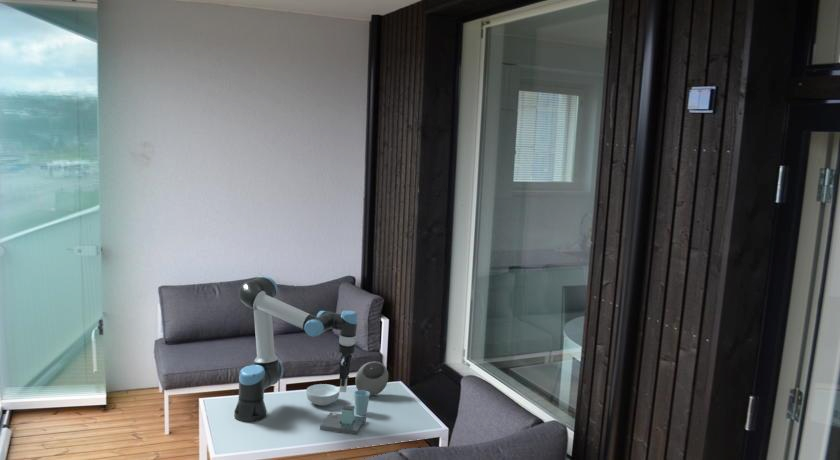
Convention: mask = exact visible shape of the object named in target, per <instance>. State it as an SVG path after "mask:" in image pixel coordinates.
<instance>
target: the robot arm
mask: <svg viewBox="0 0 840 460" xmlns="http://www.w3.org/2000/svg"><path fill="white" fill-rule="evenodd" d="M277 294H278V285H277V283H276V281H275V280H274V279H272V278H271V277H269V276H260V277H257V278H253V279H252V280H251V279H250V280H247V281H245V282H244V283H242V285H240V287H239V289H238V298H239V300H240V302H241V303H242V304H244V305H245V306H246V307H248V308H250V309H252V310H253V319H254V321H253V322H254V332H255V346H256V357H255V359H254V360H253V363H254V364H250V365H246V366H244V367H242V368H241V369H240V371H239V375H238V401H237V403H236V405H235V406H236V407H235V409H234V414H233V415H234V416H233V417H234V419H236V420H237V421H240V422H245V423H246V422H249V423H252V422H253V423H254V422H258V421H259V422H260V421H262V420H264V419H265V418H266V417H267V413H268V411H267V406H266V404H265V401H264V397H265V390H267V389H268V388H269V387H271V386H273V385H275V384H277V383H278V382H279V381H280V380H281V379H282V377H283V375H284V366H283V364H282V363H281V361H279V357H278V356H277V355H275V354H276V352H275V341H274V340H275V339H274V338H275V337H274V325H273V316H274V317H275V318H277V319H280V320H282V321H285V322H287V323H289V324H290V325H293V326H295V327H297V328H300V329H302V330H303V331H304V332H305V333H306V334H307V336H309V337H318V336H320V335H321V334H323V333H324V332H325V333H326V331H329V330H331V329H332V330H337V331H339V341H338V342H339V344H338V352H339V353H340V354H341V356H340V361H339V362H338V363H339V377H338V379H339V380H340V387H339V393H346V392H347V389H348V379H349V378H350V376H349V375H350V370H351V369H350V368H351V363H352V357H353V354H354V353H355V349H356V348H355V347H356V341H357V338H356V337H357V326H358V313H357V312H356V311H354V310H343V311H342V312H341V313H337V312H332V311H328V310H320V311H318V312H317V314H316V316H315V315H312V314H311V313H308V312H305V311H304V310H302V309H299V308H298V307H295V306H292V305H291V304H288V303H286V302H284V301H281V300H279V299H278V298H275V297H276V296H277Z"/></svg>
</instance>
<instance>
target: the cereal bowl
mask: <svg viewBox="0 0 840 460" xmlns="http://www.w3.org/2000/svg"><path fill="white" fill-rule="evenodd" d="M305 391H306V392H305V393H306V394H305V395H306V399H307V400H308V401H309V402H310V403H312V404H314V405H317V406H320V407H323V406H324V407H326V406H329V405H330V404H333V403H335V402H336V401H337V400H338V398H339V396H340V387H338V386H337V385H333V384H327V383H325V384H324V383H323V384H322V383H319V384H313V385H310V386H308V387H307V388H306V390H305Z"/></svg>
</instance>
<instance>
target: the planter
mask: <svg viewBox="0 0 840 460" xmlns="http://www.w3.org/2000/svg"><path fill="white" fill-rule="evenodd" d="M354 380H355V387H356V389H357V390H356V391H358V390H364V391H368V392H369V393H370V396H369V397H373V396H376V395H378V394H380V393H382V392H383V391H384V390H385V388H386V387H387V385H388V381H389V371H388V369H387V367H386V365H384V364H383V363H382V362H379V361H369V362H367V363H365V364H363V365H362V366H361V367H360V368H359V369H358V370H357V373H356V375H355V379H354Z"/></svg>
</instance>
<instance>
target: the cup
mask: <svg viewBox="0 0 840 460" xmlns="http://www.w3.org/2000/svg"><path fill="white" fill-rule="evenodd" d="M353 394H354V395H353V396H354V406H355V409H354V414H356V416H364V415H367V411H368V406H369V401H370V397H371V396H370V393H369V392H368V391H364V390H356V391H354V393H353Z"/></svg>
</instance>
